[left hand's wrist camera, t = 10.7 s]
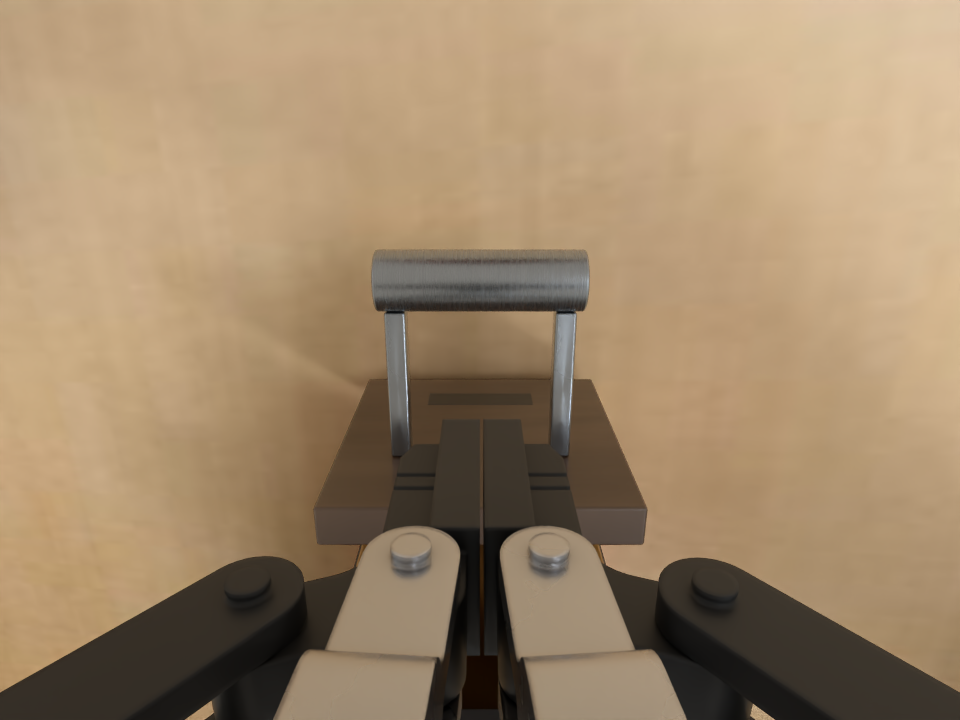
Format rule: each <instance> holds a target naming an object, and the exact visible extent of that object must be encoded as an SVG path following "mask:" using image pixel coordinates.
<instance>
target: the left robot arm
mask: <svg viewBox="0 0 960 720" xmlns="http://www.w3.org/2000/svg"><path fill="white" fill-rule="evenodd" d="M483 563H484V655H498V708H499V717H500V720H755V719H753V718H752V717H751V716H750V714H751V709H752V705H753V704H754V705H756V706H757V707H758V708H760V709H761V710H763V711H764V712H765V713H767V714H768V715H770V716H771V717H772V718H774V719H775V720H960V692H958V691H956V690H954V689H952V688H951V687H949V686H947V685H945V684H944V683H942V682H940V681H938V680H937V679H935V678H933V677H931V676H929V675H928V674H926V673H924V672H922V671H921V670H919V669H917V668H915V667H913V666H912V665H910V664H908V663H906V662H905V661H903V660H901V659H899V658H898V657H896V656H894V655H892V654H890V653H889V652H887V651H885V650H883V649H882V648H880V647H878V646H876V645H875V644H873V643H871V642H869V641H867V640H866V639H864V638H862V637H860V636H859V635H857V634H855V633H853V632H851V631H850V630H848V629H846V628H844V627H843V626H841V625H839V624H837V623H836V622H834V621H832V620H830V619H828V618H827V617H825V616H823V615H821V614H820V613H818V612H816V611H814V610H812V609H811V608H809V607H807V606H805V605H804V604H802V603H800V602H798V601H797V600H795V599H793V598H791V597H789V596H788V595H786V594H784V593H782V592H781V591H779V590H777V589H775V588H774V587H772V586H770V585H768V584H766V583H765V582H763V581H761V580H759V579H758V578H756V577H754V576H752V575H750V574H749V573H747V572H745V571H743V570H741V569H739V568H737V567H735V566H733V565H731V564H728V563H725V562H722V561H718V560H713V559H708V558H687V559H681V560H678V561H675V562H673V563H671V564H669V565H668V566H667V567H666V568H664V570H663V571H662V572H661V574H660V577H659V582H658V581H654V580H649V579H645V578H640V577H636V576H632V575H628V574H625V573H622V572H619V571H616V570H614V569H612V568H610V567H608V566H606V565H605V564H603V563H602V562H601V561H600V559H599V556H598V554H597V551H596V550H595V548H594V546H593V545H592V544H591V543H590V542H589V541H588V540H587V539H586V538H584V537H583V536H582V532H581V528H580V524H579V520H578V516H577V512H576V508H575V504H574V500H573V496H572V492H571V490H570V484H569V480H568V477H567V472H566V468H565V464H564V460H563V457H562V456H561V455H560V454H559V453H558V452H556V451H555V450H554V449H553V448H552V447H551V446H550V445H549V444H524V439H523V432H522V425H521V419H483ZM467 656H480V419H443V420H442V427H441V435H440V443H439V444H414V445H413V446H412V447H411V448H410V449H409V450H408V451H407V452H406V453H405V454H404V455H403V456H402V457H401V458H400V462H399V466H398V470H397V477H396V479H395V483H394V490H393V491H392V496H391V500H390V504H389V508H388V512H387V517H386V521H385V525H384V529H383V533H382V534H380V535H379V536H377V537H376V538H374V539H373V540H372V541H371V542H370V543H369V544H368V545H367V546H366V548H365V550H364V551H363V554H362V556H361V559H360V561H359V564H358V566H357V567H355V568H353V569H351V570H349V571H346V572H343V573H341V574H337V575H334V576H330V577H325V578H321V579H316V580H312V581H308V582H304V578H303V575H302V572H301V570H300V569H299V568H298V567H297V566H296V565H295V564H294V563H292V562H290V561H288V560H285V559H282V558H278V557H269V556H262V557H252V558H247V559H243V560H239V561H236V562H233V563H231V564H228V565H226V566H224V567H222V568H220V569H218V570H217V571H215V572H213V573H211V574H210V575H208V576H206V577H204V578H202V579H201V580H199V581H197V582H195V583H194V584H192V585H190V586H188V587H187V588H185V589H183V590H181V591H179V592H178V593H176V594H174V595H172V596H171V597H169V598H167V599H165V600H163V601H162V602H160V603H158V604H156V605H155V606H153V607H151V608H149V609H148V610H146V611H144V612H142V613H140V614H139V615H137V616H135V617H133V618H132V619H130V620H128V621H126V622H124V623H123V624H121V625H119V626H117V627H116V628H114V629H112V630H110V631H109V632H107V633H105V634H103V635H101V636H100V637H98V638H96V639H94V640H93V641H91V642H89V643H87V644H86V645H84V646H82V647H80V648H78V649H77V650H75V651H73V652H71V653H70V654H68V655H66V656H64V657H62V658H61V659H59V660H57V661H55V662H54V663H52V664H50V665H48V666H47V667H45V668H43V669H41V670H39V671H38V672H36V673H34V674H32V675H31V676H29V677H27V678H25V679H23V680H22V681H20V682H18V683H16V684H15V685H13V686H11V687H9V688H8V689H6V690H4V691H2V692H0V720H185V719H186V718H188V717H189V716H190V715H192V714H193V713H195V712H196V711H197V710H199V709H200V708H202V707H203V706H204V705H206V704H207V703H208V702H210V701H211V700H212V705H213V710H214V713H213V714H212V715H211V716H209V717H208V718H207V719H205V720H460V717H461V708H462V688H463V686H464V683H465V680H466V666H467Z"/></svg>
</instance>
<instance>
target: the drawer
mask: <svg viewBox="0 0 960 720" xmlns="http://www.w3.org/2000/svg"><path fill="white" fill-rule="evenodd" d="M371 284H372V296H373V302H374V306H375V309H376V310H377V311H386V312H385V314H384V324H385V342H386V360H387V378H388V379H371V380H369V382H368V384H367V387H366V389H365V391H364V393H363V396H362V398H361V400H360V403H359V405H358V407H357V410H356V412H355V414H354V417H353V419H352V421H351V424H350V426H349V428H348V430H347V433H346V435H345V437H344V440H343V442H342V444H341V447H340V449H339V451H338V454H337V456H336V458H335V460H334V463H333V465H332V467H331V470H330V472H329V474H328V477H327V479H326V481H325V484H324V486H323V488H322V490H321V493H320V495H319V497H318V500H317V502H316V504H315V507H314V518H315V528H316V537H317V543H318V544H319V545H362V547H361V550H360V554H359V557H358V561H357V564H356V567H357V566H358V564H359V561H360V559H361V556H362V554H363V551H364V550H365V548H366V546H367V545H368V544H369V543H370V542H371V541H372V540H373V539H374V538H376V537H377V536H379V535H380V534H382V533H383V529H384V525H385V521H386V517H387V512H388V508H389V504H390V500H391V496H392V491H393V490H394V483H395V479H396V477H397V470H398V466H399V462H400V458H401V457H402V456H403V455H404V454H405V453H406V452H407V451H408V450H409V449H410V448H411V447H412V446H413V445H414V444H439V443H440V435H441V427H442V420H443V419H480V656H467V666H466V680H465V683H464V686H463V688H462V708H461V709H499V708H498V655H484V563H483V419H521V425H522V432H523V439H524V444H549V445H550V446H551V447H552V448H553V449H554V450H555V451H556V452H558V453H559V454H560V455H561V456H562V457H563V460H564V464H565V468H566V472H567V477H568V480H569V484H570V490H571V492H572V496H573V500H574V504H575V508H576V512H577V516H578V520H579V524H580V528H581V532H582V536H583V537H584V538H586V539H587V540H588V541H589V542H590V543H591V544H592V545H593V546H594V548H595V550H596V551H597V554H598V556H599V559H600V561H601V562H602V563H603V564H604V561H603V558H602V554H601V551H600V547H599V545H642V544H643V543H644V537H645V527H646V518H647V507H646V504H645V502H644V500H643V498H642V495H641V493H640V491H639V488H638V486H637V484H636V481H635V479H634V477H633V475H632V472H631V470H630V468H629V465H628V463H627V461H626V459H625V456H624V454H623V452H622V449H621V447H620V445H619V442H618V440H617V438H616V436H615V433H614V431H613V429H612V426H611V424H610V422H609V420H608V417H607V415H606V413H605V410H604V408H603V406H602V403H601V401H600V399H599V397H598V394H597V392H596V390H595V387H594V385H593V383H592V381H591V380H590V379H573V376H574V358H575V340H576V322H577V314H576V312H575V311H584V310H585V309H586V306H587V302H588V296H589V284H590V271H589V259H588V255H587V252H586V251H585V250H376V251H375V252H374V255H373V259H372V270H371ZM407 311H554V316H553V339H552V363H551V379H410V366H409V342H408V318H407Z"/></svg>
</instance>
